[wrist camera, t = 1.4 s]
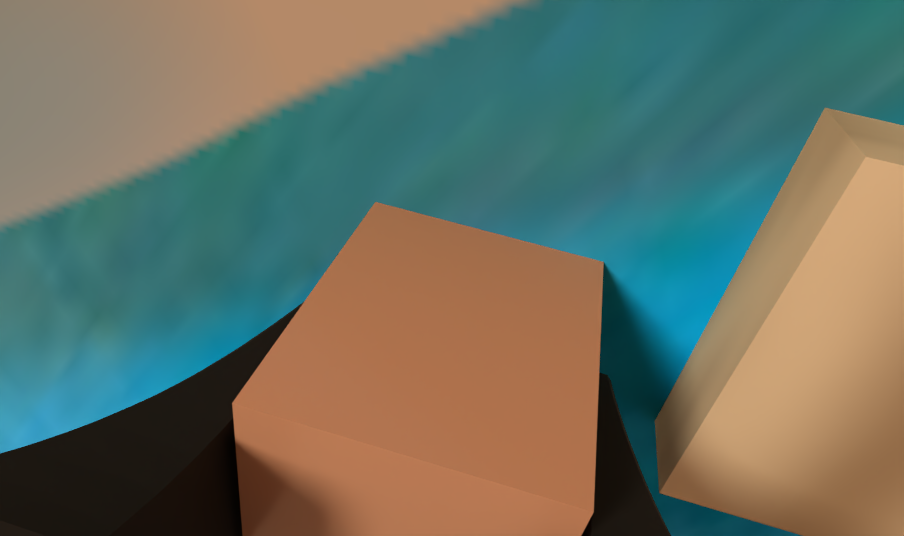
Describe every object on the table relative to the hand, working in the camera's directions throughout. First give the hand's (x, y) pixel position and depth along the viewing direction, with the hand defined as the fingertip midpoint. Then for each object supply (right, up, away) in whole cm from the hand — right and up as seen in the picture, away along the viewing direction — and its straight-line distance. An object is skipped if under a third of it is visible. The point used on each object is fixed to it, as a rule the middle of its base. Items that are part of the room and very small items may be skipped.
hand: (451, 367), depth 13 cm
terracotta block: (0, +1, +1) cm, 2 cm away
